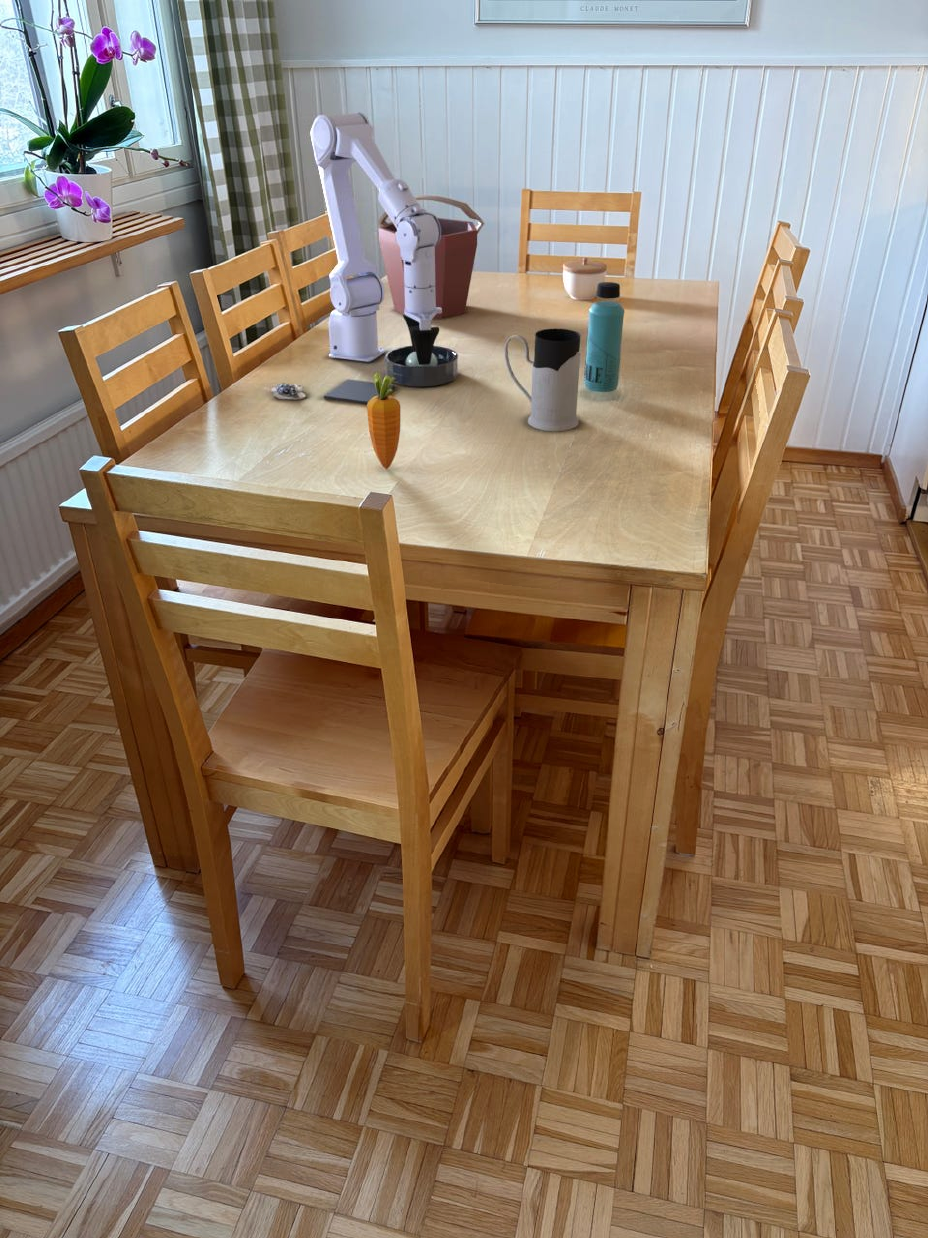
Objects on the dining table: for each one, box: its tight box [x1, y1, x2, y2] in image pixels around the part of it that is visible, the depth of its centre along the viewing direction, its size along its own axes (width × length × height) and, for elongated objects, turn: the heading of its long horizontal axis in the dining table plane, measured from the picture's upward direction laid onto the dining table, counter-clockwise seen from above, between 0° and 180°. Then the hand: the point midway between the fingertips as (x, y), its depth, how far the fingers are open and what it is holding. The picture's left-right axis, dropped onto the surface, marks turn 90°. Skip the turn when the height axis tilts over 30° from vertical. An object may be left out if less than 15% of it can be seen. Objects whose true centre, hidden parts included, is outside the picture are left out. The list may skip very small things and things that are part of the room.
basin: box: [384, 345, 459, 388], centre depth 181 cm, size 14×14×4 cm
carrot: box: [366, 372, 401, 470], centre depth 141 cm, size 5×5×15 cm
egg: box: [406, 352, 438, 367], centre depth 181 cm, size 6×4×4 cm
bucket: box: [378, 195, 485, 320], centre depth 217 cm, size 24×22×25 cm
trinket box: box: [562, 257, 608, 301], centre depth 232 cm, size 11×11×9 cm
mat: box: [323, 378, 397, 405], centre depth 174 cm, size 10×10×1 cm
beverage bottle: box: [583, 281, 625, 393], centre depth 168 cm, size 6×7×20 cm
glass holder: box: [504, 328, 582, 432], centre depth 159 cm, size 9×14×15 cm, turn 58°
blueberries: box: [270, 382, 307, 401], centre depth 173 cm, size 7×8×2 cm
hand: (421, 357), depth 180 cm, fingers open, 7 cm apart
